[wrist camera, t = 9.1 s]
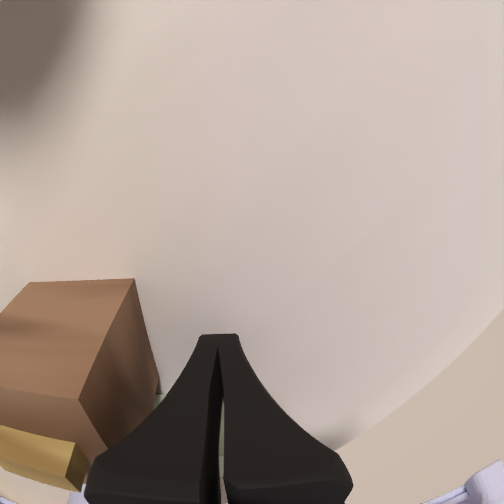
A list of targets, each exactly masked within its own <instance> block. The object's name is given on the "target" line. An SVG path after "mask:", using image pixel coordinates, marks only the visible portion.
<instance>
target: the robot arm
mask: <svg viewBox="0 0 504 504" xmlns="http://www.w3.org/2000/svg"><path fill="white" fill-rule="evenodd" d="M222 401H224V471H223V479H224V484H225V489H226V494H227V499H228V504H345V503H344V501H345V500H346V498H347V496H348V495H349V494H350V492H351V490H352V488H353V482H352V478H351V476H350V474H349V472H348V470H347V468H346V466H345V464H344V462H343V461H342V459H341V458H340V456H339V455H338V454H337V453H336V452H334V451H333V450H331V449H329V448H328V447H326V446H325V445H323V444H322V443H320V442H319V441H318V440H316V439H315V438H314V437H312V436H311V435H310V434H309V433H307V432H306V431H305V430H304V429H303V428H301V427H300V426H299V425H298V424H297V423H296V422H295V421H294V420H293V419H292V418H290V417H289V416H288V415H287V414H286V413H285V412H284V411H283V409H282V408H281V407H280V406H279V405H278V404H277V403H276V402H275V400H274V399H273V398H272V397H271V396H270V394H269V393H268V392H267V390H266V389H265V388H264V386H263V385H262V383H261V382H260V381H259V379H258V377H257V376H256V374H255V373H254V371H253V369H252V367H251V366H250V364H249V362H248V360H247V358H246V356H245V354H244V352H243V349H242V347H241V344H240V341H239V337H238V335H237V334H206V335H201V336H200V337H199V340H198V342H197V345H196V347H195V349H194V351H193V353H192V355H191V357H190V359H189V361H188V363H187V364H186V366H185V368H184V370H183V371H182V373H181V375H180V376H179V378H178V379H177V381H176V382H175V384H174V385H173V387H172V388H171V389H170V391H169V392H168V393H167V395H166V396H165V397H164V399H163V400H162V401H161V402H160V403H159V405H158V406H157V407H156V408H155V409H154V410H153V411H152V412H151V413H150V414H149V415H148V417H147V418H146V419H145V420H144V421H143V422H142V423H140V424H139V425H138V426H137V427H136V428H135V429H134V430H132V431H131V432H130V433H129V434H128V435H127V436H125V437H124V438H123V439H122V440H120V441H119V442H118V443H116V444H115V445H113V446H112V447H110V448H109V449H107V450H106V451H104V452H103V453H101V454H100V455H98V456H97V457H95V459H94V462H93V464H92V466H91V469H90V471H89V474H88V477H87V481H86V484H83V486H82V490H81V493H79V492H74V491H71V492H70V496H69V500H68V504H221V491H220V471H219V439H220V426H221V414H222ZM0 504H18V503H15V502H13V501H11V500H8V499H6V498H4V497H2V496H0ZM422 504H504V464H503V463H502V461H501V460H497V461H495V462H494V463H492V464H490V465H489V466H487V467H485V468H483V469H481V470H480V471H478V472H476V473H475V474H474V475H473V476H471V477H470V478H469V479H468V480H467V481H466V483H465V484H464V485H462V486H460V487H458V488H456V489H454V490H452V491H450V492H447V493H445V494H443V495H441V496H439V497H436V498H434V499H432V500H429V501H427V502H424V503H422Z"/></svg>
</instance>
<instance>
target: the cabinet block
mask: <svg viewBox="0 0 504 504" xmlns="http://www.w3.org/2000/svg"><path fill="white" fill-rule="evenodd" d="M158 380H159V374H158V371H157V367H156V364H155V360H154V357H153V353H152V350H151V346H150V342H149V339H148V335H147V331H146V327H145V323H144V319H143V315H142V311H141V306H140V302H139V298H138V293H137V289H136V284H135V279H134V278H131V279H109V280H84V281H57V282H29V283H28V284H27V286H26V287H25V288H24V289H23V290H22V291H21V292H20V293H19V294H18V295H17V296H16V297H15V298H14V299H13V300H12V301H11V302H10V303H9V304H8V305H7V307H6V308H5V309H4V310H3V311H2V312H1V313H0V466H1V467H2V468H3V469H4V470H6V471H9V472H12V473H14V474H17V475H20V476H23V477H26V478H29V479H32V480H35V481H38V482H41V483H45V484H48V485H51V486H55V487H59V488H62V489H66V490H70V491H74V492H79V493H81V490H82V486H83V484H86V481H87V477H88V474H89V471H90V469H91V466H92V464H93V462H94V459H95V457H97V456H98V455H100V454H101V453H103V452H104V451H106V450H107V449H109V448H110V447H112V446H113V445H115V444H116V443H118V442H119V441H120V440H122V439H123V438H124V437H125V436H127V435H128V434H129V433H130V432H131V431H132V430H134V429H135V428H136V427H137V426H138V425H139V424H140V423H142V422H143V421H144V420H145V419H146V418H147V417H148V415H149V414H150V413H151V412H152V411H153V406H154V401H155V395H156V390H157V385H158Z"/></svg>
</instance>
